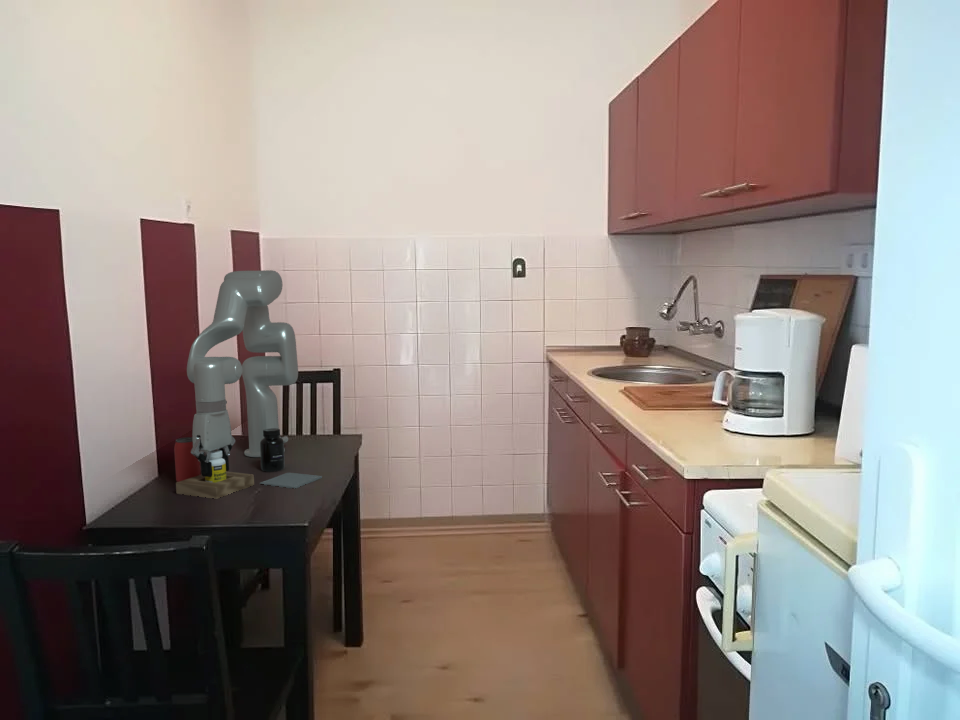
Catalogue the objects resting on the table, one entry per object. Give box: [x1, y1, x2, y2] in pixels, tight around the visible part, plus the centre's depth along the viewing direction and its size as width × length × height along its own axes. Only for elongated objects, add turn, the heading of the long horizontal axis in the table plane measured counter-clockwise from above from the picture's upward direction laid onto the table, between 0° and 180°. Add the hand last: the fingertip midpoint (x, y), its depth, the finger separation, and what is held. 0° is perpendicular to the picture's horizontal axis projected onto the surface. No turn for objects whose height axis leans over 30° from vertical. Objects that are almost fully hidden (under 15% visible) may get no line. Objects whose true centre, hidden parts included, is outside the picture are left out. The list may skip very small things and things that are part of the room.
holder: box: [175, 471, 255, 500], centre depth 204 cm, size 14×14×3 cm
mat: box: [259, 472, 323, 489], centre depth 211 cm, size 12×12×1 cm
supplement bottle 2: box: [260, 428, 286, 473], centre depth 225 cm, size 7×7×12 cm
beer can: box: [173, 436, 202, 482], centre depth 214 cm, size 7×7×12 cm
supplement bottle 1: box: [205, 449, 226, 483], centre depth 204 cm, size 5×5×10 cm
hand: (215, 472), depth 205 cm, fingers closed on supplement bottle 1, 5 cm apart
